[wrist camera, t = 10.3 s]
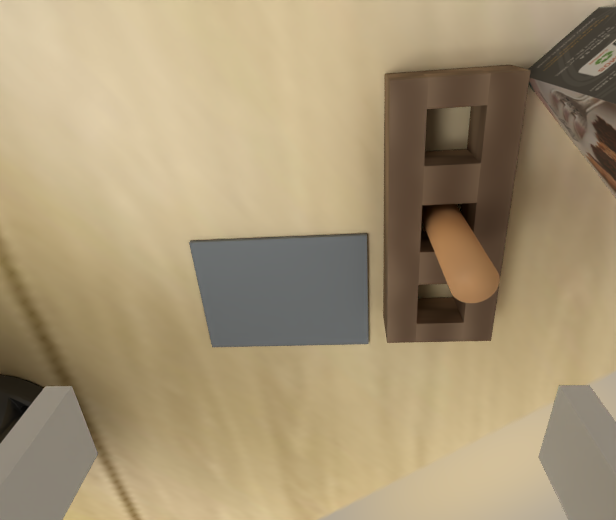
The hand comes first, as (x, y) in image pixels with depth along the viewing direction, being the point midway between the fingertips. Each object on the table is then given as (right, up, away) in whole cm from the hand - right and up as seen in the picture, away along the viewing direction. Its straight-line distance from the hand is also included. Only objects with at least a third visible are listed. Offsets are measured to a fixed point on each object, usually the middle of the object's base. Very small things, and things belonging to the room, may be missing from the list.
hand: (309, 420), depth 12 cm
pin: (+11, +9, +26) cm, 29 cm away
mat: (-2, +1, +31) cm, 31 cm away
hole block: (+11, +9, +26) cm, 29 cm away
